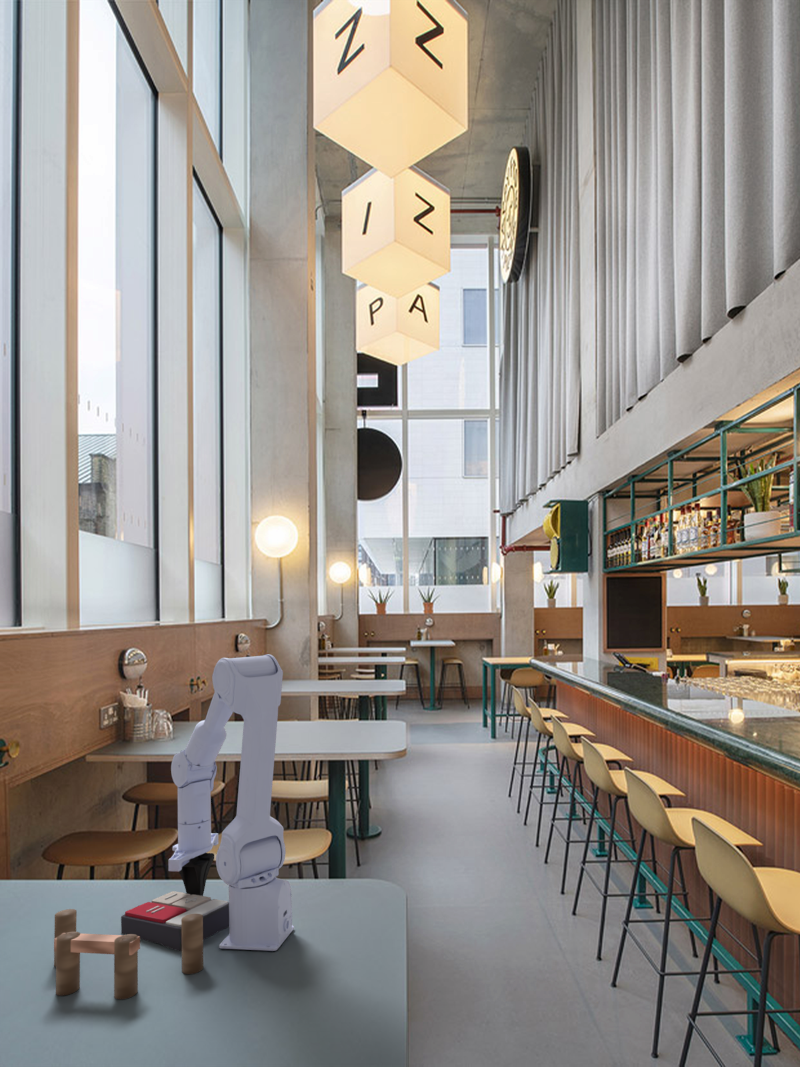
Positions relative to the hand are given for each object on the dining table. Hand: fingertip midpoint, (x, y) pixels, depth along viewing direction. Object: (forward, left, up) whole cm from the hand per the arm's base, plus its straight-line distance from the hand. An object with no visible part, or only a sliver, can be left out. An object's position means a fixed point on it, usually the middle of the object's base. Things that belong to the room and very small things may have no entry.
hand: (195, 899), depth 122 cm
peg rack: (0, +24, -1) cm, 24 cm away
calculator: (-1, +8, -2) cm, 8 cm away
